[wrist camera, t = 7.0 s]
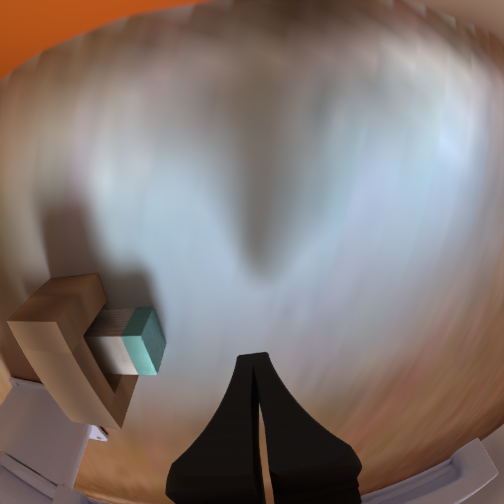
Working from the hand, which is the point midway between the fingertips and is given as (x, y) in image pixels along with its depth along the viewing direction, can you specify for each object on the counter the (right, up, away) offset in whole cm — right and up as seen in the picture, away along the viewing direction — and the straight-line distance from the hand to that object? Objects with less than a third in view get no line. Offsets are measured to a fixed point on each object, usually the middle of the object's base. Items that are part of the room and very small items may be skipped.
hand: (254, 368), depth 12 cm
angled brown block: (-11, 0, +4) cm, 11 cm away
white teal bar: (-11, 0, +4) cm, 11 cm away
